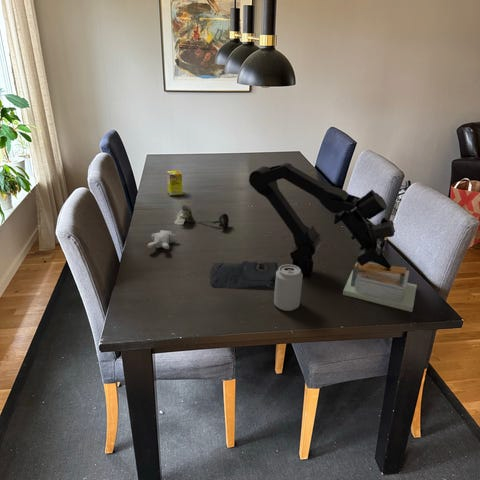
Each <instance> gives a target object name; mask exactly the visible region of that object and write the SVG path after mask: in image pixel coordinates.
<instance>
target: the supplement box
mask: <svg viewBox="0 0 480 480" xmlns="http://www.w3.org/2000/svg"><path fill="white" fill-rule="evenodd" d="M166 182H167V194H168V195H169V197H170V198H171V197H173V198H174V197H183V174H182V172H181V171H180V170H168V171H166Z"/></svg>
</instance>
